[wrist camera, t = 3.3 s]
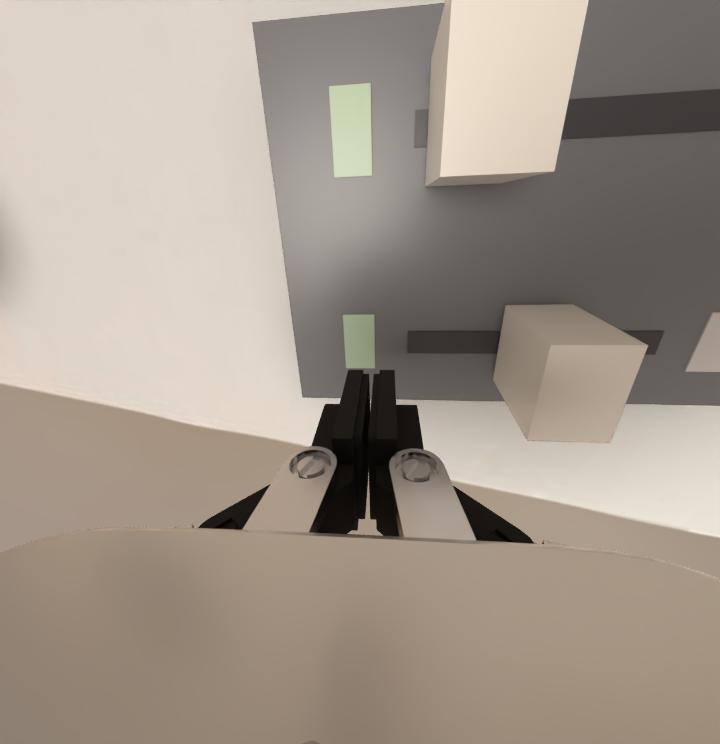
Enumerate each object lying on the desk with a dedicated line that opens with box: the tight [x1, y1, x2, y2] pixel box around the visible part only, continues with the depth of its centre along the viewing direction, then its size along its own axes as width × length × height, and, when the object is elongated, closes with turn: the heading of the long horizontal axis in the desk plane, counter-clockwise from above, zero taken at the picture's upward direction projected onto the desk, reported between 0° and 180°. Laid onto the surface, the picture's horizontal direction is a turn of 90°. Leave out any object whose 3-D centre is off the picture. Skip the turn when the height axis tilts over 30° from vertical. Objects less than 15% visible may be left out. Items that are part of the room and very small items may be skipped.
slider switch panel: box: [252, 0, 720, 406], centre depth 15 cm, size 24×16×3 cm, turn 92°
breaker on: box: [425, 0, 589, 187], centre depth 10 cm, size 3×4×5 cm
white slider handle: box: [493, 304, 648, 443], centre depth 14 cm, size 3×4×5 cm
